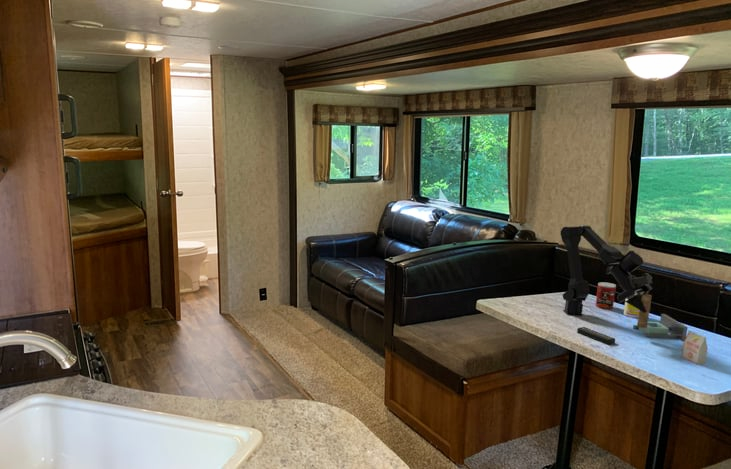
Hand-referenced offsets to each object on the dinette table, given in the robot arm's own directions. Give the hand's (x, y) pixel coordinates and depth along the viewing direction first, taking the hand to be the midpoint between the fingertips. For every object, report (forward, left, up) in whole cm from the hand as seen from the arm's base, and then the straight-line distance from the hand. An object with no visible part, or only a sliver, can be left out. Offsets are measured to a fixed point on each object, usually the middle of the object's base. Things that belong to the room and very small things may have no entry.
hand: (647, 311), depth 216 cm
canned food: (+4, +43, -12) cm, 45 cm away
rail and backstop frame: (+10, +8, -12) cm, 17 cm away
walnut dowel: (-1, +1, -7) cm, 7 cm away
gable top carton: (+8, -19, -12) cm, 24 cm away
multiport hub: (-19, +1, -12) cm, 23 cm away
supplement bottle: (+11, +31, -12) cm, 35 cm away
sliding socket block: (+8, +8, -12) cm, 16 cm away
